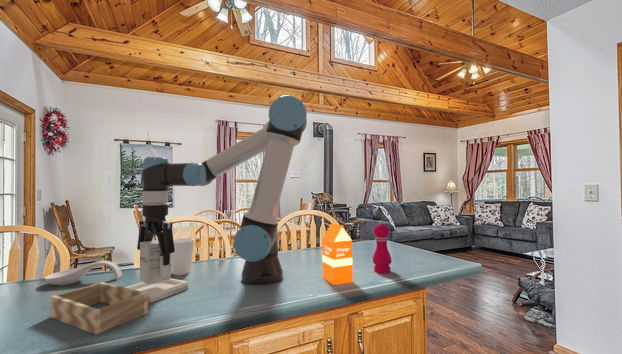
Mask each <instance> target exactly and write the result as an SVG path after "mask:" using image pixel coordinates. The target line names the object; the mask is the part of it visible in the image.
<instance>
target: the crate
mask: <svg viewBox="0 0 622 354" xmlns="http://www.w3.org/2000/svg"><path fill="white" fill-rule="evenodd" d="M99 303H103V304H107V305H105V306H101V307H99V308H96V307H94V306H92V305H95V304H99ZM49 304H50V309H49V310H50V312H49V313H50V315H49V316H50V318H52V319H55V320H56V321H60V322H62V323H65V324H68V325H69V326H73V327H74V328H78V329H80V330H83V331H85V332H87V333H90V334H92V333H93V335H98V334H101V333H103V332H106V331H109V330H110V329H113V328H115V327H118V326H120V325H123V324H125V323H128V322H130V321H132V320H135V319H138V318H140V317H142V316H145V315H147V314H148V313H149V303H148V293H145V292H141V291H137V290H133V289H129V288H125V287H124V286H121V285H116V284H113V283H108V282H103V281H101V282H99V283H95V284H90V285H87V286H83V287H80V288H76V289H72V290H69V291H65V292H62V293H58V294H53V295H50V303H49Z"/></svg>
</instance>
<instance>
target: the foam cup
mask: <svg viewBox="0 0 622 354" xmlns="http://www.w3.org/2000/svg"><path fill="white" fill-rule="evenodd" d="M173 241H174V249H175V252H174V253H171V272H172V274H174V276H182V275H187V274H190V273H191V270H192V269H191V267H192V260H193V252H194V246H195V239H194V238H192V237H191V238H190V237H181V238H173ZM189 272H190V273H189Z"/></svg>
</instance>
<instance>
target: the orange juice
mask: <svg viewBox="0 0 622 354" xmlns="http://www.w3.org/2000/svg"><path fill="white" fill-rule="evenodd" d="M321 241H322V244H321V245H322V247H321V248H322V255H321V256H322V258H321V259H322V278H323V279H324V280H325V281H327V282H328V283H330V284H332V285H333V284H334V285H335V284H336V285H341V284H340V283H342V284H347V282H348V283H353V282H354V281H353V279H354V278H353V275H354V273H353V271H354V270H353V265H354V264H353V240H352V238H351V237H350V235H349V234H348V232H347V230H346V229H345V227H344V226H343V225H341V224H337V223H333V222H331V223H330V225H329V226H328V228H327V230H326V232H325V234H324V236H323V237H322V239H321ZM336 285H335V286H336Z"/></svg>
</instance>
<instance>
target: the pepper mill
mask: <svg viewBox="0 0 622 354" xmlns="http://www.w3.org/2000/svg"><path fill="white" fill-rule="evenodd" d="M373 233H374V235H375V241H376V245H375V246H376V248H375V250H374V254H373V256H372V263H373V264H374V266H373V269H374V272H375V273H378V274H389V273H391V266H390V265H391V264H392V262H393V261H392V256H391V254H390V252H389V251H390V250H389V248H388V241H389V236H388V235H389V234H390V228H389V226H387V225H386V224H384V220H379V221H378V224H377V225H375V226H374V228H373Z"/></svg>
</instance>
